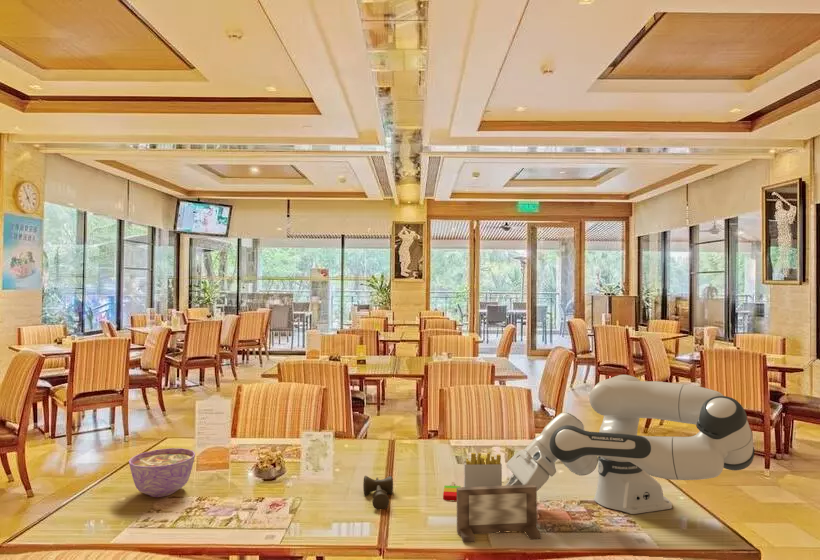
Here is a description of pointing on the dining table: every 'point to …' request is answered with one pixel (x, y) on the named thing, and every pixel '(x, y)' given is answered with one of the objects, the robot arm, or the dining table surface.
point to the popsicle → (450, 492)
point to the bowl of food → (161, 470)
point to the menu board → (497, 510)
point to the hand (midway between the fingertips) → (507, 490)
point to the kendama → (378, 490)
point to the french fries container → (483, 471)
